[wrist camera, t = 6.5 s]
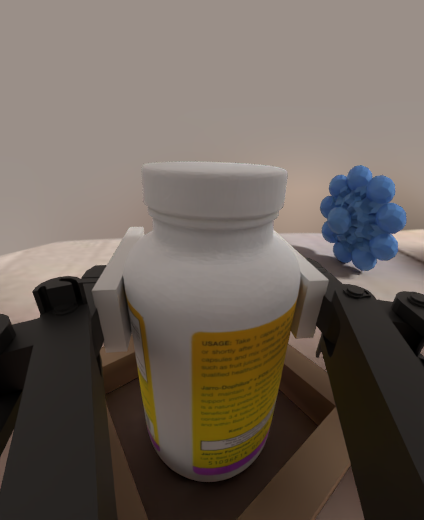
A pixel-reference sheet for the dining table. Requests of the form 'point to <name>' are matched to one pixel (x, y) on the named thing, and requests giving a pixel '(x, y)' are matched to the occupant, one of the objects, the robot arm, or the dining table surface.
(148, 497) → the dining table surface
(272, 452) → the dining table surface
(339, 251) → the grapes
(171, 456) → the supplement bottle
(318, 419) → the walnut collar
